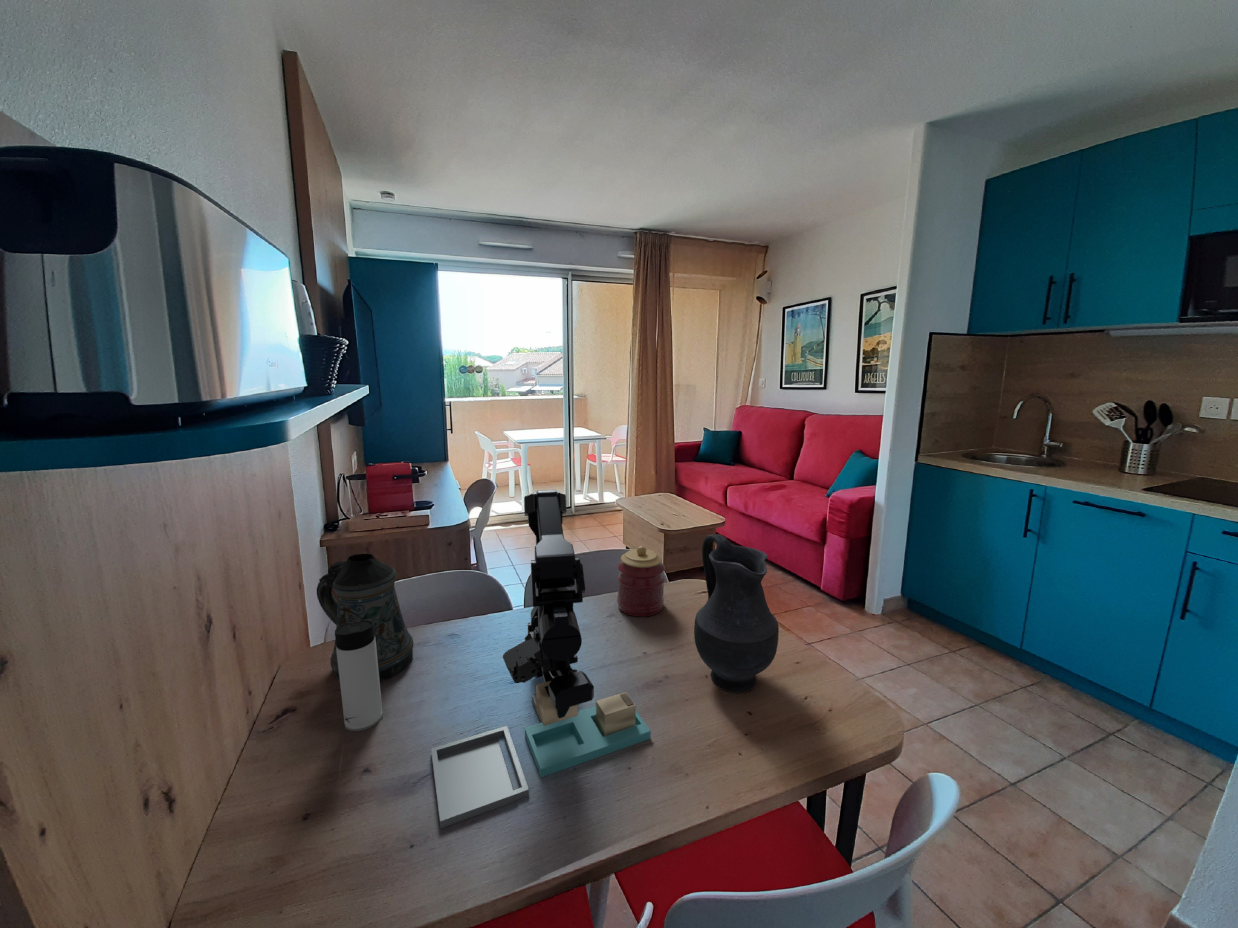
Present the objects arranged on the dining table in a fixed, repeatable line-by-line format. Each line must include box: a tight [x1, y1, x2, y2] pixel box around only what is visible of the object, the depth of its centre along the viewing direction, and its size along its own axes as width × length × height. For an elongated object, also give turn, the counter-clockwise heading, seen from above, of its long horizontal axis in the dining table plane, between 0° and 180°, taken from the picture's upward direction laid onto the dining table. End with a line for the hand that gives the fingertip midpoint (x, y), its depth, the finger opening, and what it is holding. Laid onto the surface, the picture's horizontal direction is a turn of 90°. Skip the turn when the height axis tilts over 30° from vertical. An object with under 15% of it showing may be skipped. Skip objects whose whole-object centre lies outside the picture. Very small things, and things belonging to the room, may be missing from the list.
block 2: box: [595, 691, 637, 737], centre depth 88 cm, size 4×6×5 cm, turn 115°
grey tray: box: [430, 725, 530, 829], centre depth 79 cm, size 15×13×2 cm
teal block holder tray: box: [524, 705, 652, 778], centre depth 87 cm, size 10×20×2 cm, turn 115°
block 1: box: [535, 681, 579, 726], centre depth 83 cm, size 4×6×5 cm, turn 115°
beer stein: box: [316, 553, 415, 682], centre depth 106 cm, size 16×19×25 cm
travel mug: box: [334, 620, 384, 732], centre depth 89 cm, size 6×7×20 cm
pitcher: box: [693, 533, 780, 694], centre depth 104 cm, size 17×21×30 cm
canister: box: [616, 545, 666, 618], centre depth 134 cm, size 13×13×18 cm
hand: (557, 708), depth 83 cm, fingers closed on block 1, 4 cm apart
